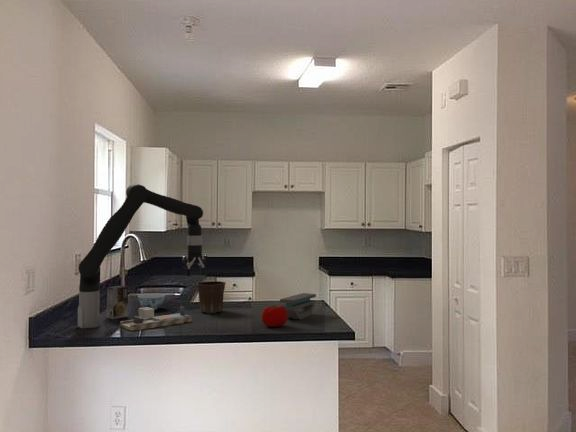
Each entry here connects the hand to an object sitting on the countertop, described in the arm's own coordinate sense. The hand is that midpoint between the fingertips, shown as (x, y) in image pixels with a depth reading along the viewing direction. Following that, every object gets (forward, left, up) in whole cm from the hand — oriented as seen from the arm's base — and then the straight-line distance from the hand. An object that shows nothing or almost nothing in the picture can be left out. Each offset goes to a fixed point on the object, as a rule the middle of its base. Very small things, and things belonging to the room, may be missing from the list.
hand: (194, 275), depth 273 cm
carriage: (-14, 0, -21) cm, 25 cm away
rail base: (-22, 0, -22) cm, 31 cm away
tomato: (+18, -43, -23) cm, 52 cm away
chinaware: (-4, +41, -23) cm, 47 cm away
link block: (-21, +13, -22) cm, 33 cm away
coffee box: (-29, +30, -23) cm, 47 cm away
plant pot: (+17, +11, -23) cm, 30 cm away
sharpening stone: (+43, -33, -23) cm, 59 cm away
